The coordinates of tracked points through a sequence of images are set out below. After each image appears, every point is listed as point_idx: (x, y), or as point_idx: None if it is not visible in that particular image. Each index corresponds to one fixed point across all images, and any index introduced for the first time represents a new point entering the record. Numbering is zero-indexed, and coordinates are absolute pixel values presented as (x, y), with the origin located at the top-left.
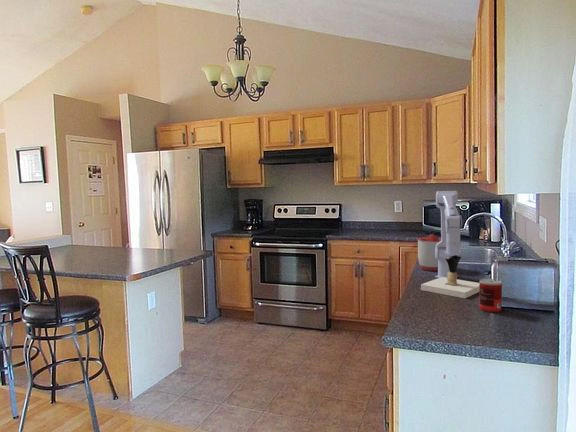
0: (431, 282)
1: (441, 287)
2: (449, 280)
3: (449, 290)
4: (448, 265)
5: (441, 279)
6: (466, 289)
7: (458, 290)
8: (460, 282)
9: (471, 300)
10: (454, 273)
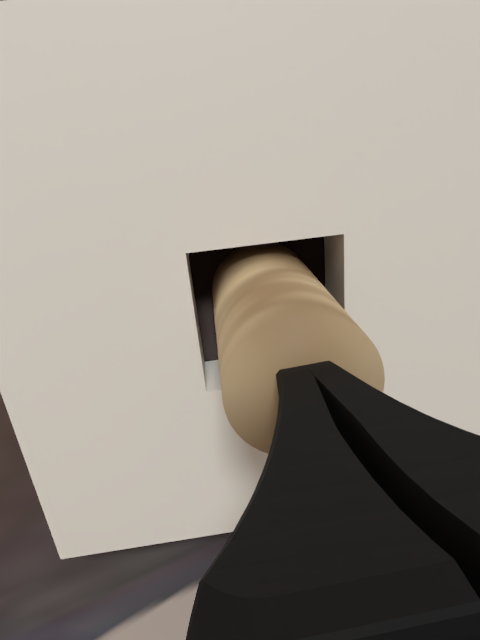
0: (128, 62)
1: (13, 328)
2: (216, 334)
3: (18, 427)
4: (273, 441)
5: (417, 58)
6: (173, 511)
7: (71, 495)
8: (410, 330)
9: (70, 561)
10: (262, 448)
